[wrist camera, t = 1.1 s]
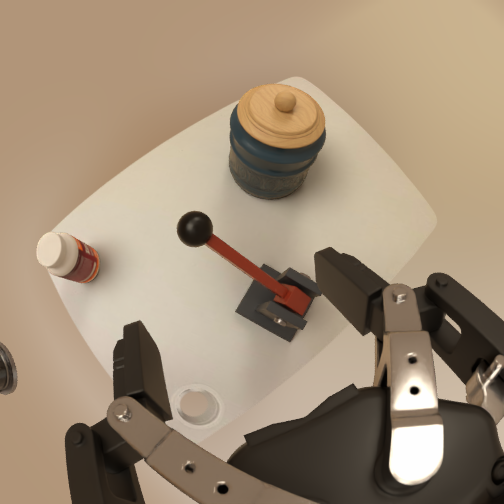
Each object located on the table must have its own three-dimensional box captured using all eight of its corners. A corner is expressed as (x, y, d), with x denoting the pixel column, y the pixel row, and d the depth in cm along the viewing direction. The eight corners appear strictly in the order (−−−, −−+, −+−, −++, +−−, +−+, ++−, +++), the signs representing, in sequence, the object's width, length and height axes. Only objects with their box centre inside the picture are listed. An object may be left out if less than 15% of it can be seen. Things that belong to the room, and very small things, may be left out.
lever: (166, 234, 24) (174, 233, 21) (186, 205, 25) (196, 201, 22) (285, 314, 31) (302, 321, 28) (298, 290, 32) (316, 295, 29)
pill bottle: (106, 254, 39) (73, 235, 29) (92, 289, 38) (55, 280, 27) (79, 241, 39) (43, 220, 29) (66, 274, 38) (27, 262, 27)
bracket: (235, 311, 39) (238, 310, 27) (262, 264, 41) (277, 243, 29) (288, 341, 39) (314, 352, 27) (313, 294, 41) (348, 286, 28)
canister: (317, 187, 45) (360, 125, 28) (246, 212, 43) (258, 149, 26) (284, 129, 47) (307, 58, 30) (217, 148, 45) (215, 72, 28)
